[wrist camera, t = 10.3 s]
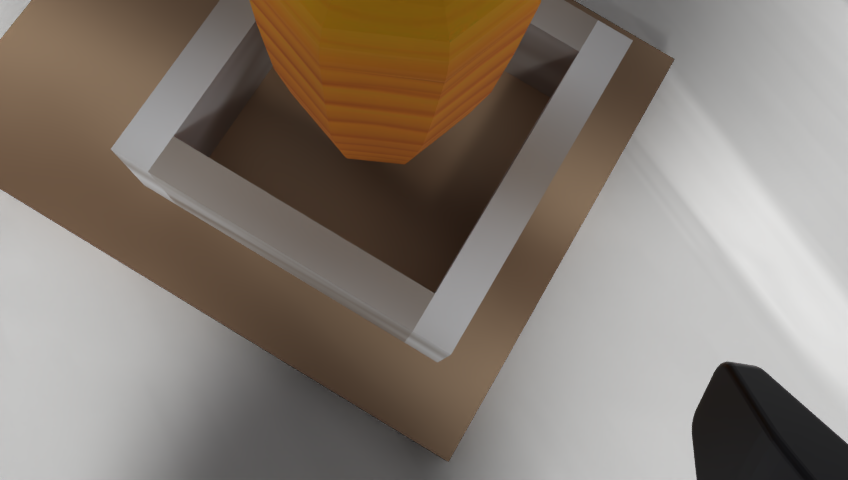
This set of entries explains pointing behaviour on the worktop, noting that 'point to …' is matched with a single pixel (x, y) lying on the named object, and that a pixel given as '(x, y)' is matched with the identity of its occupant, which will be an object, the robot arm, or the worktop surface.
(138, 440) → the worktop surface
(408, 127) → the carrot
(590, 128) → the holder
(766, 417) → the robot arm
